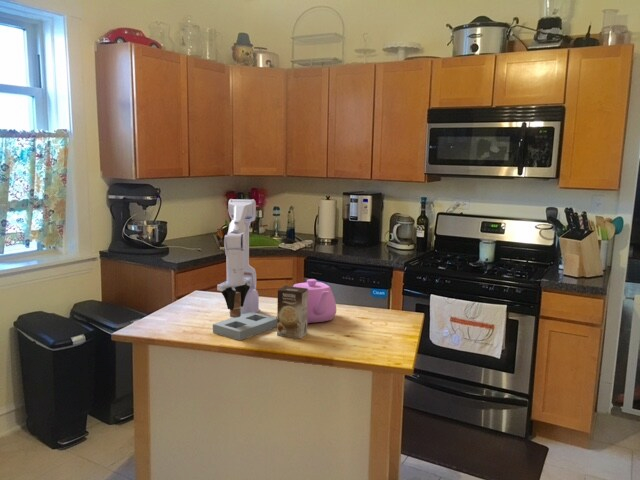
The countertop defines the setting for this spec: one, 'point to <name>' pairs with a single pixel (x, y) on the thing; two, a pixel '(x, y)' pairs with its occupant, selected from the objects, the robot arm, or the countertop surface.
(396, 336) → the countertop surface
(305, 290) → the coffee box
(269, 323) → the grey board with holes
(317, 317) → the teapot
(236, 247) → the robot arm
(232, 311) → the walnut peg
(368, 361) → the countertop surface
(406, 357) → the countertop surface
